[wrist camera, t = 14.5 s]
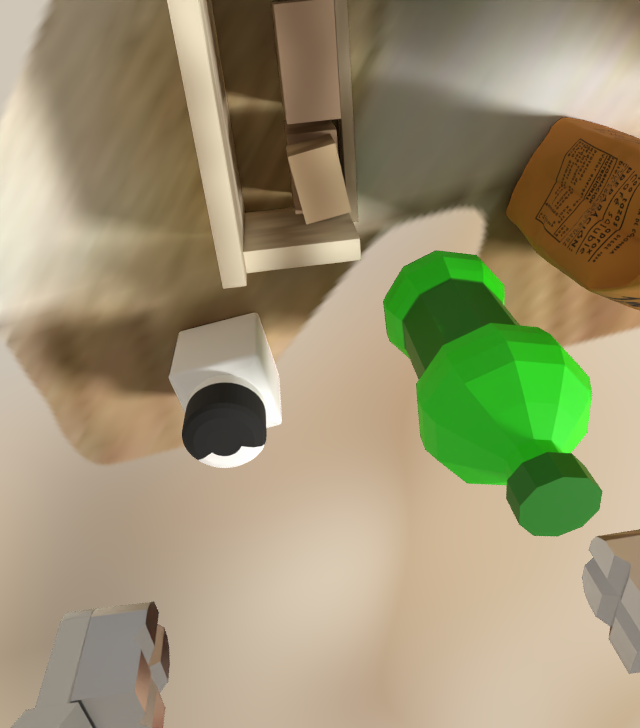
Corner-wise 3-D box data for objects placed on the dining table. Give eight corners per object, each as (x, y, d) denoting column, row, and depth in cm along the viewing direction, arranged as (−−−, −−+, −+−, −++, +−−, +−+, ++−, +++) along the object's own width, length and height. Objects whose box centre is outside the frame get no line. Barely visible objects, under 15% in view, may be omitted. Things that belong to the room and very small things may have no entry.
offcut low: (328, 115, 41) (336, 129, 37) (333, 188, 44) (341, 208, 40) (283, 120, 41) (287, 135, 37) (291, 192, 44) (295, 214, 40)
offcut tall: (319, -4, 38) (333, -2, 31) (327, 97, 41) (341, 118, 34) (270, 1, 37) (273, 4, 31) (281, 102, 41) (287, 124, 34)
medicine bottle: (177, 330, 50) (157, 417, 40) (257, 309, 49) (257, 391, 39) (205, 395, 54) (193, 489, 43) (280, 376, 53) (285, 466, 43)
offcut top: (330, 133, 37) (335, 143, 35) (345, 198, 40) (351, 212, 37) (285, 146, 38) (287, 157, 35) (303, 210, 40) (306, 224, 38)
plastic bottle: (425, 361, 54) (534, 598, 33) (347, 291, 49) (416, 516, 28) (513, 288, 50) (697, 500, 29) (438, 206, 46) (593, 388, 25)
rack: (339, -64, 36) (365, -80, 27) (354, 219, 46) (377, 270, 37) (179, -48, 36) (155, -59, 27) (229, 233, 45) (222, 288, 37)
